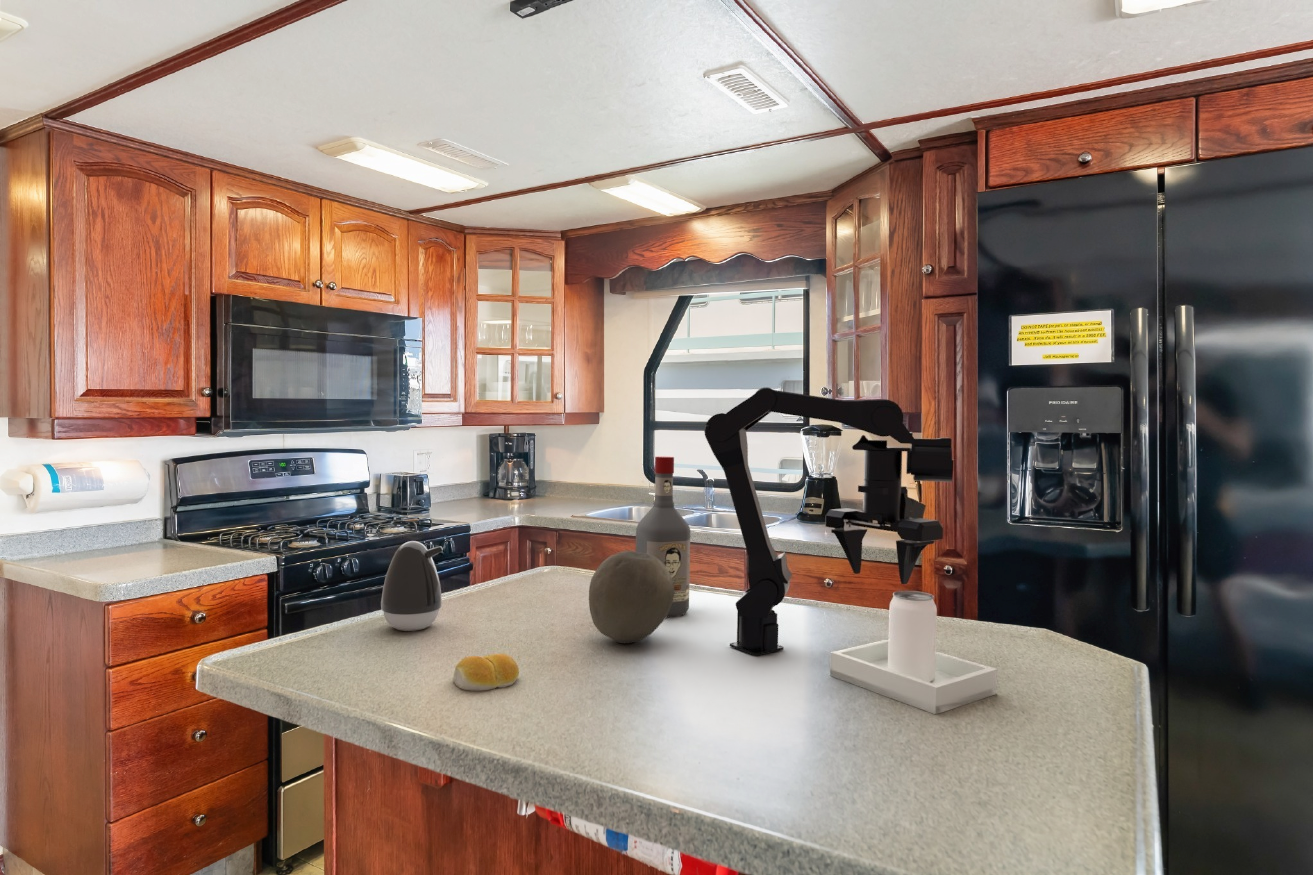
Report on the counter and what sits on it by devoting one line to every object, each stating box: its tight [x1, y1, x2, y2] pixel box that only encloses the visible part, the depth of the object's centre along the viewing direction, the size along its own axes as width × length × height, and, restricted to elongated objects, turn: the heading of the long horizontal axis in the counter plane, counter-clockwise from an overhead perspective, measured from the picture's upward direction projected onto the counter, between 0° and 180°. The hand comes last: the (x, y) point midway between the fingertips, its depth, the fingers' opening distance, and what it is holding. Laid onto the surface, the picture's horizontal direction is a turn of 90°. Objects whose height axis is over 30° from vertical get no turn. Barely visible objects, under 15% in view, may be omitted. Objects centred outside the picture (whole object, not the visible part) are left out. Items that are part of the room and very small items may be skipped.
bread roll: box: [452, 653, 520, 692], centre depth 113 cm, size 8×9×4 cm
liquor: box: [635, 456, 691, 618], centre depth 154 cm, size 9×9×30 cm
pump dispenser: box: [380, 540, 444, 632], centre depth 140 cm, size 10×10×15 cm
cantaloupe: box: [588, 550, 674, 644], centre depth 134 cm, size 14×14×15 cm
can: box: [887, 590, 938, 683], centre depth 114 cm, size 6×6×12 cm
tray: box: [829, 638, 998, 715], centre depth 115 cm, size 18×14×4 cm
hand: (879, 578), depth 125 cm, fingers open, 9 cm apart
